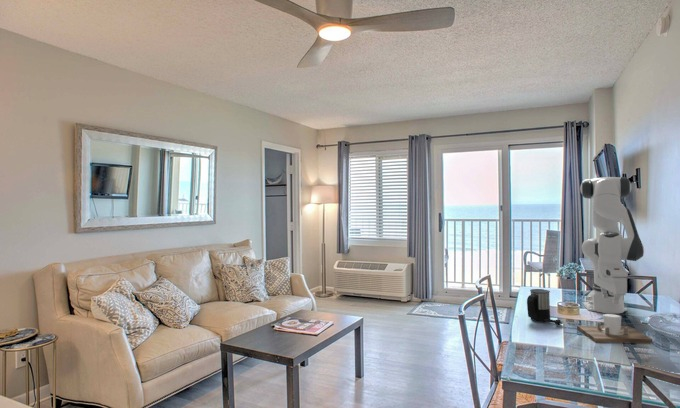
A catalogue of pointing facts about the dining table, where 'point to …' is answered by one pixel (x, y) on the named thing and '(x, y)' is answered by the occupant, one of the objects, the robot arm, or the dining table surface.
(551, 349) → the dining table surface
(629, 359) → the dining table surface
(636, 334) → the pin board
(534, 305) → the milk frother
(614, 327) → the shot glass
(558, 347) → the dining table surface
